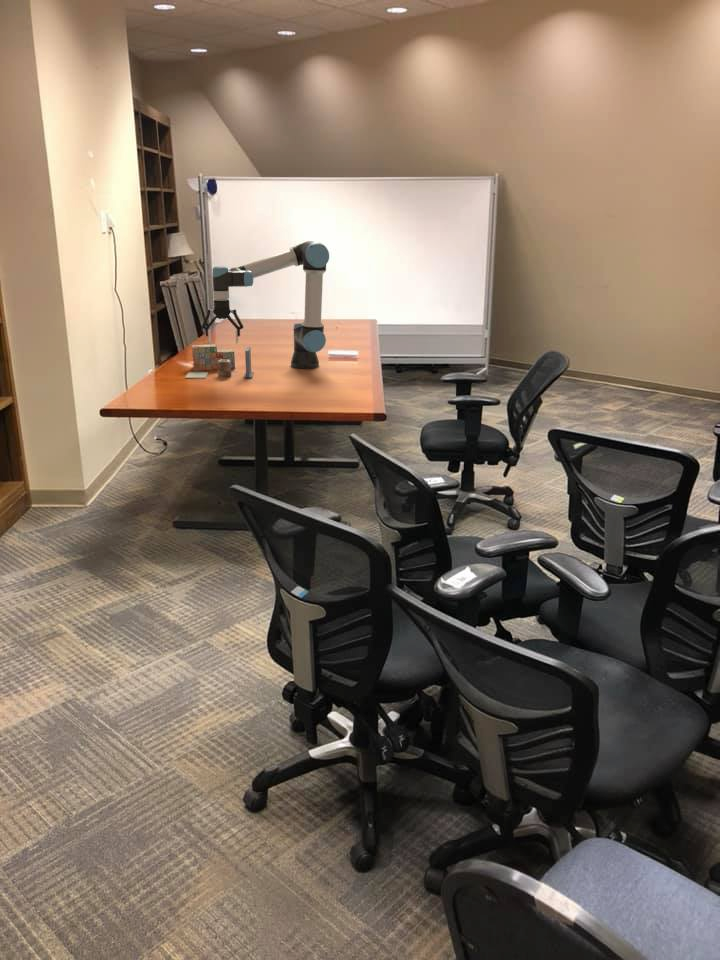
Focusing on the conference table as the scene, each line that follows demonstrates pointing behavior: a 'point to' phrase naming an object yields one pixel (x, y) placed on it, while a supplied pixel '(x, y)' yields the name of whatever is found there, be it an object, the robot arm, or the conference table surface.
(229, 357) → the stack of blocks
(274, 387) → the conference table surface
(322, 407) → the conference table surface
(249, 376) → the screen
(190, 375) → the pad
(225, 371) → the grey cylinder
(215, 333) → the conference table surface
